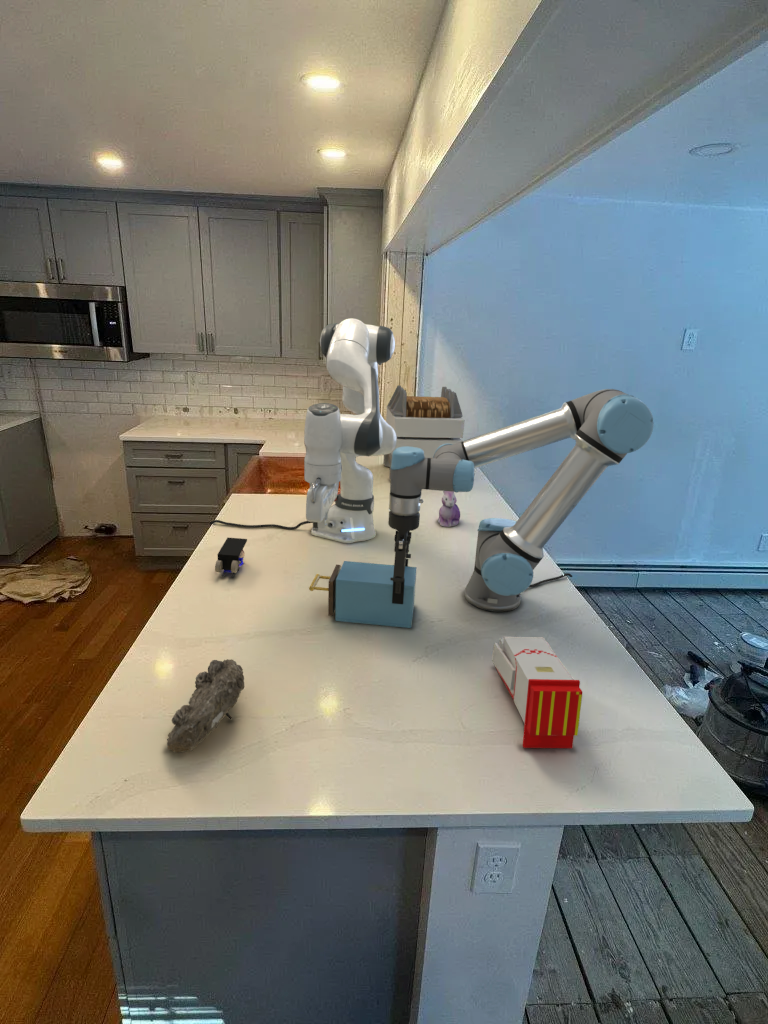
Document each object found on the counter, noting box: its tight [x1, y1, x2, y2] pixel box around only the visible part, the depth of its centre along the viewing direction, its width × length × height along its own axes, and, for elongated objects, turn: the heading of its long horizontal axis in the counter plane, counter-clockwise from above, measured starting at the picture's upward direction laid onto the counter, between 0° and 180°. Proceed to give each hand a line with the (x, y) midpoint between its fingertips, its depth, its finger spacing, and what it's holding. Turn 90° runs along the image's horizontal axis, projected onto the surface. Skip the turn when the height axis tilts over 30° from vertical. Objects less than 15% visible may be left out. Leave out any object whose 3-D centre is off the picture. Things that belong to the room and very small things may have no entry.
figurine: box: [437, 491, 461, 528], centre depth 209 cm, size 9×10×15 cm
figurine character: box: [214, 537, 248, 578], centre depth 166 cm, size 7×8×15 cm
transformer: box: [383, 384, 465, 481], centre depth 268 cm, size 34×33×41 cm
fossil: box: [166, 658, 245, 754], centre depth 106 cm, size 22×10×15 cm
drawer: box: [308, 564, 342, 617], centre depth 146 cm, size 23×10×10 cm, turn 84°
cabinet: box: [335, 560, 418, 629], centre depth 145 cm, size 19×11×12 cm, turn 84°
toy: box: [491, 636, 583, 749], centre depth 115 cm, size 12×13×30 cm
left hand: (322, 526), depth 141 cm, fingers closed
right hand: (399, 592), depth 144 cm, fingers closed on cabinet, 11 cm apart
